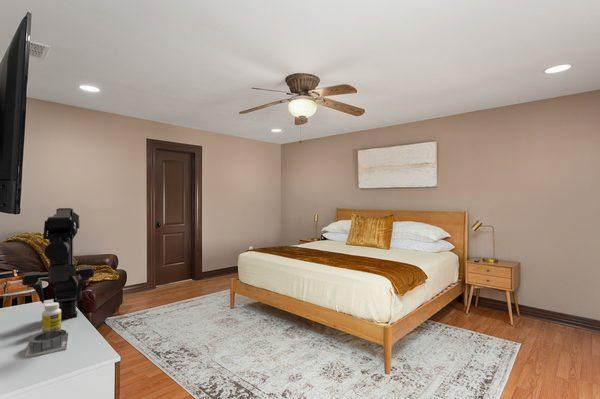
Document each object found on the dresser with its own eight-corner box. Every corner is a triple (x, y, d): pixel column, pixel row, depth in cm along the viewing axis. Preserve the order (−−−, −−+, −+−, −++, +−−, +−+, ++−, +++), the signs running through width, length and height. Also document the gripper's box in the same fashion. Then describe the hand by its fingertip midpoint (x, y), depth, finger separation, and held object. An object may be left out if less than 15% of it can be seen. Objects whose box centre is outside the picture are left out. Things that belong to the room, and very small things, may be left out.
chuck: (30, 342, 106) (30, 332, 106) (68, 335, 112) (68, 325, 111) (25, 358, 96) (25, 347, 96) (66, 349, 102) (66, 338, 101)
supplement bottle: (50, 335, 111) (50, 307, 111) (38, 333, 112) (37, 306, 112) (65, 328, 117) (64, 302, 116) (52, 327, 118) (52, 301, 118)
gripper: (19, 262, 95) (19, 314, 95) (94, 255, 105) (94, 302, 106) (24, 255, 104) (25, 302, 104) (93, 249, 114) (93, 293, 115)
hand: (60, 300), depth 107 cm, fingers open, 9 cm apart
